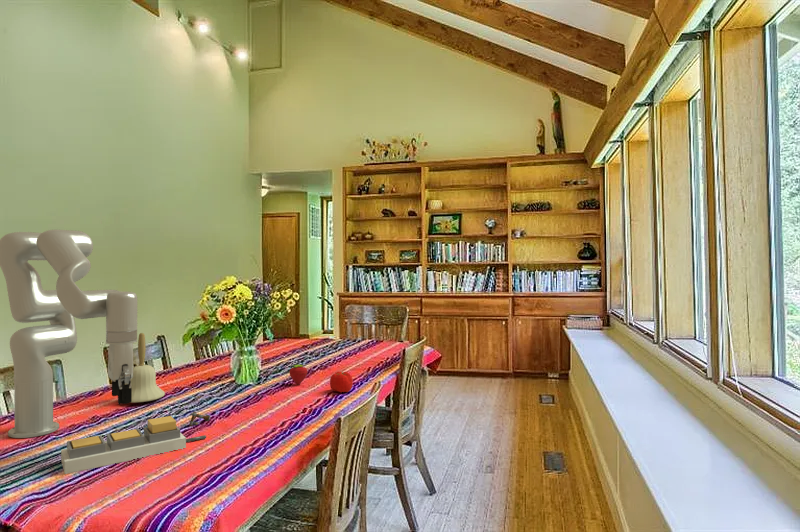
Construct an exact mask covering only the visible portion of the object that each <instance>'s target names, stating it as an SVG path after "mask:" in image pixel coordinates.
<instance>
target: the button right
mask: <svg viewBox="0 0 800 532" xmlns="http://www.w3.org/2000/svg"><path fill="white" fill-rule="evenodd" d="M176 426H177V420H176V419H175V418H173V416H172V415H168V416H162V417H155V418H150V419H147V427H148V429H149V430H150V431H151V432H152V433H158V432H163V431H169V430H174V429H176Z"/></svg>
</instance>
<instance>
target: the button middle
mask: <svg viewBox="0 0 800 532" xmlns="http://www.w3.org/2000/svg"><path fill="white" fill-rule="evenodd" d="M136 429H137V428H136ZM136 429H135V428H134V429H130V430H125V431H124V430H123V431H118V432H112V433H110V434H111V438H112V440H113V442H114V441H119V440H124V439H130V438H135V437H140V434H139V433H138V432H137V430H136Z"/></svg>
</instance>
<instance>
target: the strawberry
mask: <svg viewBox="0 0 800 532" xmlns="http://www.w3.org/2000/svg"><path fill="white" fill-rule="evenodd" d="M296 363H297V364H294V365H293V364H292V365H291V366H292V367H291V368H290V369H289V371H288V373H289V377H290V378H291V379H292V381H293V382H294V383H295V384H296V385H297V386H299V385H301V384H302V383H303V381H304V380H305V378H306V377H307V375H308V369H307V367H304V366H305V364H298V361H297V362H296Z"/></svg>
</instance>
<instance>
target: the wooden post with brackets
mask: <svg viewBox="0 0 800 532" xmlns="http://www.w3.org/2000/svg"><path fill="white" fill-rule="evenodd" d="M190 416H191V418H190V421H189V425H188V426H189V427H192V426H198V425H199V422H198V421H195V419H196V418H199V419H203V421H204V420H205V422H210V419H211V414H210V415H209V414H205V415H203V414H200V413H197V412H196V411H193V412H191V413H190Z"/></svg>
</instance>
